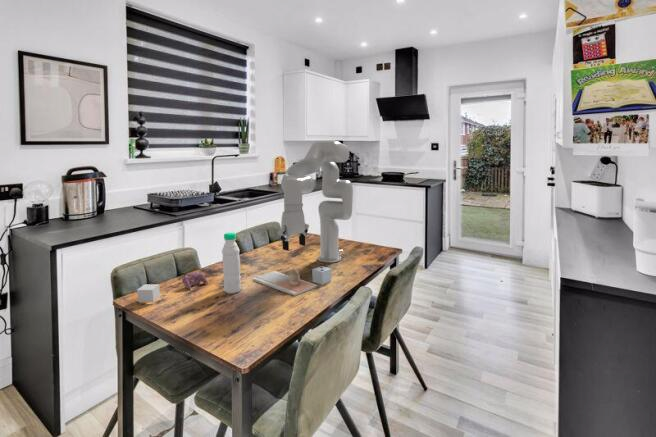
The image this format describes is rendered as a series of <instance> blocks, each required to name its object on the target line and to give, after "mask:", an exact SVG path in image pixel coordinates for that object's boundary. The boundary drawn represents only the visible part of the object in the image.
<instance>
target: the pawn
mask: <svg viewBox="0 0 656 437" xmlns="http://www.w3.org/2000/svg"><path fill="white" fill-rule="evenodd" d="M288 276H289V280H290V286H299V285H300V278H301V277H300V276H301V275H300V272H299V271H298V269H297V268H292V269H291V270H290V272H289V274H288Z"/></svg>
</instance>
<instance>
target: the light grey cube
mask: <svg viewBox="0 0 656 437" xmlns="http://www.w3.org/2000/svg"><path fill="white" fill-rule="evenodd" d="M160 291H161V289H160V284H157V283H156V284H153V283H152V284H150V283H149V284H145V283H144V284H142V285H141V286H140V287H139V288H138V289H136V294H137V302H154V301H155V300H156V299H157V298H158V297H160V298H161V292H160Z"/></svg>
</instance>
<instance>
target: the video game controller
mask: <svg viewBox="0 0 656 437" xmlns="http://www.w3.org/2000/svg"><path fill="white" fill-rule="evenodd" d="M193 280H194V281H193ZM181 282H182V284H183V285H184V286H185V288H186V289H187V288H188V289H191V290H192V287H191V285H196V284H198V283H200V284H201V282H202V283H203V284H204V283H207V284H208V279H207V278H206V277H205V275H204V274H203V273H202V272H200V271H194V272H190V273H188V274H186V275H185V276H184V277H182V281H181ZM198 285H199V284H198ZM188 289H187V290H188Z"/></svg>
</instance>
